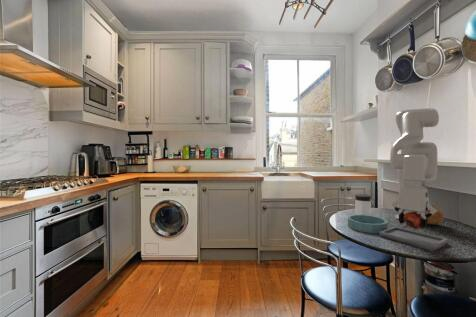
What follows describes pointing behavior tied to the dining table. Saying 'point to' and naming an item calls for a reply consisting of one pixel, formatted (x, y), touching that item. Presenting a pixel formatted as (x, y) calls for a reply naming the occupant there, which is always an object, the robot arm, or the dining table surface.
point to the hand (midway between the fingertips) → (412, 225)
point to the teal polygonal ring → (367, 223)
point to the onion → (435, 216)
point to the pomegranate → (412, 220)
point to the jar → (362, 204)
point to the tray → (414, 238)
